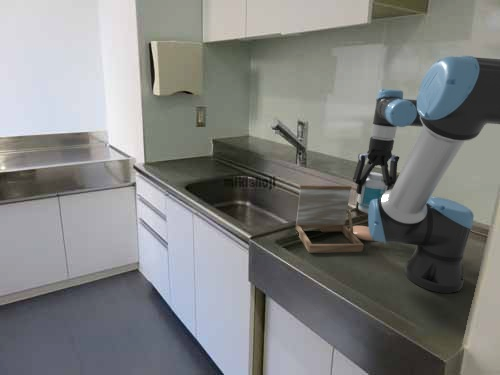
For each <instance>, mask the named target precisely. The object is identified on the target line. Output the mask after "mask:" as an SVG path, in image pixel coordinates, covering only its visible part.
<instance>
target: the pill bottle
mask: <svg viewBox="0 0 500 375" xmlns="http://www.w3.org/2000/svg"><path fill="white" fill-rule="evenodd" d="M363 185H365V191H364V197H363V202H362V204H360V203H358V205H357V206H358V207H357V208H358V210H359V211H360V212H361V213H362V212H363V213H365V214H368V211H369V204H370V201H371V200H372V199H380V200H381V198H382V196H383V193H384V189H385V183H384V180H383V174H382V173H379V172H375V171H371V172H370V174H369V176H368V178H367V179H366V181H365V183H364V184H363Z"/></svg>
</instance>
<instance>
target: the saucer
mask: <svg viewBox="0 0 500 375" xmlns="http://www.w3.org/2000/svg"><path fill="white" fill-rule="evenodd" d="M348 229H349V230H350V228H348ZM353 232H354V235H355V236H356V237H357V238H358V239H359V240H363V241H370V242H373V241H375V240H373V239H372V237H371V235H370V232H369V226H365V225H353ZM375 242H376V241H375Z"/></svg>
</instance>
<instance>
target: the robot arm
mask: <svg viewBox="0 0 500 375" xmlns="http://www.w3.org/2000/svg"><path fill="white" fill-rule="evenodd" d="M418 91H419V92H418V94H417V97H416V99H409V98H407V99H406V98H404V91H403V90H402V89H391V88H380V90H378V94H377V98H376V103H375V109H374V115H373V119H372V120H373V122H372V127H371V132H370V136H371V137H370V138H369V142H368V143H369V144H368V149H367V150H368V151H367V152H366V153H363V154H362V153H359V154H358V157H357V158H358V160H357V164H356V168H355V171H354V175H353V176H352V182H354V183H355V184H356V185H357V186H356V191H355V192H356V194H357V197H356V202H357V203H358V204H359V203H360V204H362V202H363V197H364V191H365V185H363V184H364V183H365V181H366V179H367V178H368V176H369V174H370V172H373V169H375V167H377V166H380V169H381V174H382V175H383V176H382V180H383V182H384V183H385V189H384V193H383V196H382V198H381V200H380V199H372V200H371V201H370V204H369V211H368V213H367V216H368V217H367V219H368V220H367V222H368V227H369V232H370V235H371V237H372V239H373V240H375V242H379V243H380V242H381V243H385V244H401V245H413V246H416V249H415V250H414V251H413V253H412V255H411V256H410V258H409V259H408V260H407V261H406V263H405V267H404V273H405V276H406V278H408V279H409V280H410V281H411V282H412V283H414V284H416V285H417V286H419V287H421V288H423V289H425V290H428V291H432V292H435V293H439V292H440V294H452V293H451V292H456V291H458V292H460V291H461V290H462V289H463V286H464V280H465V279H464V269H463V258H464V254H465V251H466V247H467V243H468V241H469V237H470V233H471V232H472V231H471V230H472V229H473V223H474V217H475V216H474V212H473V211H472V210H471V209H470V208H468V207H467V206H465V205H464V204H461V203H459V202H457V201H454V200H451V199H448V198H445V197H440V196H432V194H433V193H434V191H435V190H436V188H437V187H438V186H439V184H440V182H441V180H442V179H443V177H444V176H445V174H446V173H447V170H448V169H449V167H450V165H452V162H453V161H454V160H455V158H456V156H457V154H458V153H459V151H460V149H461V147H462V146H463V145H464V143H465V142H467V141H472V140H473V139H475V138H477V137H478V136H479V135H480V133H481V131H482V130H483V129H484V127H485V126H486V125H488V124H489V125H490V124H491V125H492V124H493V125H500V58H486V57H476V56H473V55H461V56H453V55H451V56H445V57H442V58H441V59H439V60H437V61H435V62H434V64H432V65H431V67H430V68H428V70H427V71H426V73H425V75H424V76H423V79H422V81H421V82H420V86H419V88H418ZM409 126H410V127H419V128H420V127H421V129H420V131H419V133H418V136H417V137H416V139H415V141H414V143H413V146H412V148H411V150H410V152H409V154H408V156H407V157H406V160H405V162H404V164H403V167H402V168H401V170H400V172H399V175H398V177H397V174H398V172H397V171H398V162H399V160H400V156H398V155H396V154H393V153H392V152H393V149H394V145H395V144H394V143H395V140H394V139H395V138H396V134H397V130H398V127H400V128H403V127H409ZM367 159H368V160H367ZM366 161H367V162H366ZM389 161H390V162H389ZM365 164H366V166H365ZM392 186H393V187H392ZM391 187H392V188H391ZM431 196H432V197H431ZM461 288H462V289H461ZM460 289H461V290H460ZM459 290H460V291H459ZM456 293H457V292H456Z"/></svg>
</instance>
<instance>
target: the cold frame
mask: <svg viewBox="0 0 500 375" xmlns="http://www.w3.org/2000/svg"><path fill="white" fill-rule="evenodd" d="M352 188H353V187H352V185H324V184H323V185H317V184H316V185H315V184H312V185H311V184H308V185H307V184H304V185H303V184H301V185H299V195H298V196H299V197H298V206H297V213H296V214H297V215H296V222H295V229H296V230H297V231H298V232H299V236H298V238H299V240H300V241H301V243H302V244H303V246H304V247H305V248H306V251H307V252H308V254H314V253H315V254H317V253H318V254H319V253H326V254H327V253H362V252H363V250H364V246H365V245H364V243H363V242H362V241H361V239H359V238H357V237H356V236H355V235H354V232H353V226H354V225H353V218H352V212H351V209H348V207H349V201H350V194H351V190H352ZM347 216H348V222H349V224H348V225H349V227H347V225H346V221H347ZM308 228H317V229H320V231H321V232H324V233H326V232H328V233H329V232H341V233H343V235H344V236H345V237H346V238H347V239H348V240H349V242H350V243H312V242H311V240H310V239H309V237H308V236H307V234H306V233H305V232H304V231H303V230H302V229H308ZM349 229H350V230H349Z"/></svg>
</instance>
